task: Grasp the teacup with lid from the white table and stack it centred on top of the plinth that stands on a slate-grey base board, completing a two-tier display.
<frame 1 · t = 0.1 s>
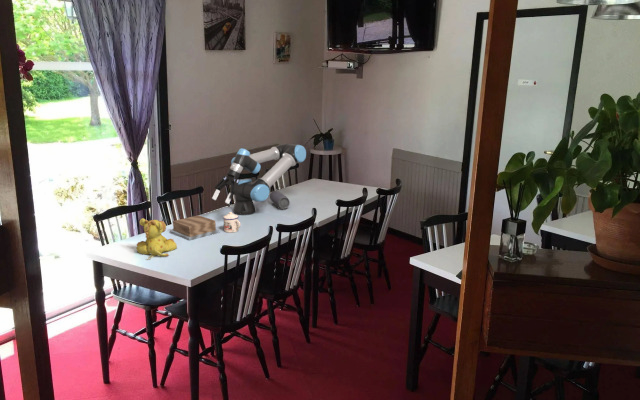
hand: (220, 201, 326), 15 cm above the table, tool tilted 35°, fingers open, 13 cm apart
giraffe plush: (156, 252, 281), on the table
teacup with lid: (233, 231, 317), on the table
plinth: (194, 232, 314), on the table
bluetooth speaker: (279, 206, 374), on the table
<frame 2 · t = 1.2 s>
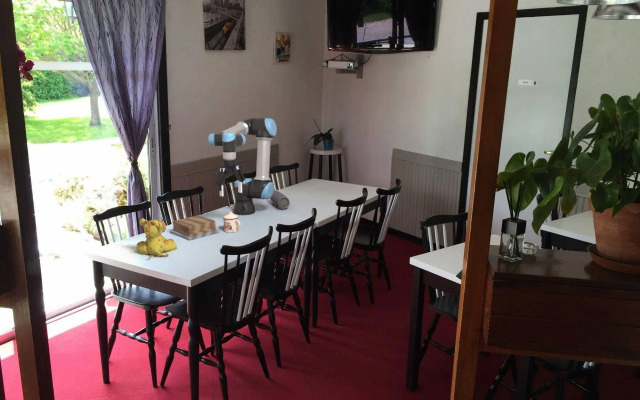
hand: (231, 194, 311), 23 cm above the table, tool pointing down, fingers open, 13 cm apart
nothing on the table moved.
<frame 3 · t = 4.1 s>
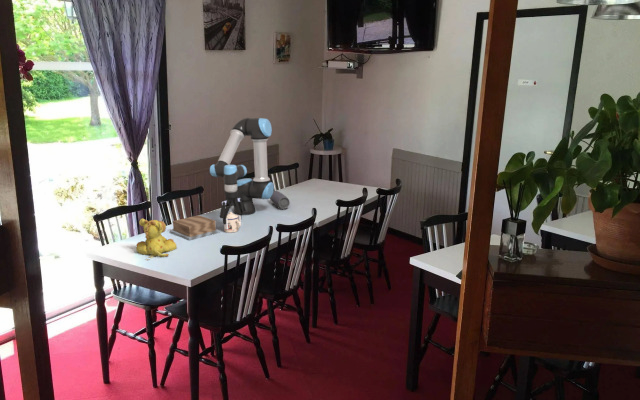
hand: (232, 227, 316), 3 cm above the table, tool pointing down, fingers closed on teacup with lid, 9 cm apart
teacup with lid: (233, 231, 317), on the table, touching gripper
everything else where it was.
when the fingers open (10 cm above the table, at t = 12.2 s): teacup with lid stays where it is, resting on plinth.
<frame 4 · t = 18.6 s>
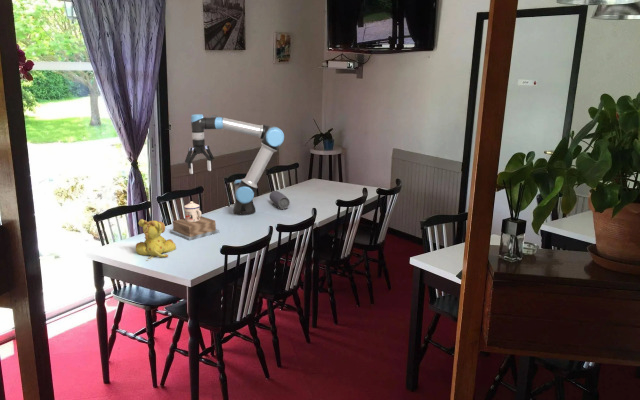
hand: (200, 172, 334), 32 cm above the table, tool pointing down, fingers open, 13 cm apart
giraffe plush: (155, 253, 280), on the table
teacup with lid: (194, 221, 312), point 7 cm above the table, touching plinth
everything else where it was.
at the end: teacup with lid inside the target area on the plinth (0.3 cm from its centre), point 7.3 cm above the plinth's base; teacup with lid tilted 0°; the gripper is holding nothing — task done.
